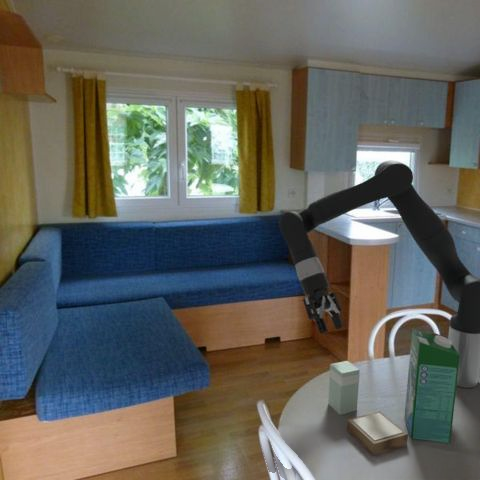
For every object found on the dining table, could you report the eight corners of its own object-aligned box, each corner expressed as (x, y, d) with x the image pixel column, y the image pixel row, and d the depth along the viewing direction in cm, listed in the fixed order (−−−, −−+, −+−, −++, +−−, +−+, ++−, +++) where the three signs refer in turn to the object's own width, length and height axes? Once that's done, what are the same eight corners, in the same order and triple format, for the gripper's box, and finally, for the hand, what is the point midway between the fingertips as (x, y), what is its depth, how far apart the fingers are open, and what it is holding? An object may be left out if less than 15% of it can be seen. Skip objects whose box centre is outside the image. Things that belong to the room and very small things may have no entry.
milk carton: (450, 443, 102) (461, 346, 97) (410, 438, 104) (419, 342, 99) (440, 421, 111) (450, 331, 106) (404, 417, 112) (412, 328, 108)
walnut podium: (379, 421, 110) (379, 410, 110) (407, 445, 101) (408, 433, 101) (346, 430, 107) (347, 418, 106) (373, 455, 98) (374, 443, 97)
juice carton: (344, 400, 120) (347, 360, 118) (357, 410, 115) (359, 369, 113) (328, 404, 118) (330, 364, 116) (339, 415, 113) (342, 373, 111)
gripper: (308, 272, 115) (330, 330, 110) (334, 270, 125) (355, 322, 121) (287, 282, 119) (307, 338, 115) (314, 279, 130) (334, 330, 126)
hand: (332, 330), depth 118 cm, fingers open, 8 cm apart
